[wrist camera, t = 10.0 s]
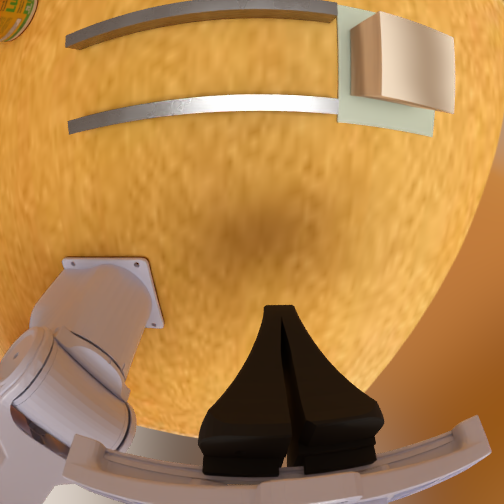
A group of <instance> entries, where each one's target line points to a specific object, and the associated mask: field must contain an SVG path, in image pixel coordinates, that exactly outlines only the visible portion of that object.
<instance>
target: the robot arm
mask: <svg viewBox="0 0 504 504" xmlns="http://www.w3.org/2000/svg"><path fill="white" fill-rule="evenodd" d="M73 262H74V263H75V264H74V263H73ZM135 262H137V263H139V265H137V264H136V263H135ZM62 264H63V267H64V270H63V271H62V272H61V273H60V274H59V276H58V277H57V278H56V279H55V280H54V282H53V283H52V284H51V285H50V287H49V288H48V289H47V290H46V292H45V293H44V294H43V295H42V297H41V298H40V299H39V300H38V302H37V303H36V305H35V306H34V308H33V311H32V314H31V318H30V325H29V329H28V330H27V331H25V332H24V333H23V334H22V335H21V336H20V337H19V338H18V339H17V340H16V341H15V342H14V343H13V344H12V346H11V347H10V348H9V349H8V351H7V352H6V354H5V355H4V357H3V358H2V360H1V362H0V504H42V503H43V502H44V501H45V499H46V498H47V496H48V495H49V493H50V492H51V491H52V489H53V488H54V486H56V485H63V484H76V485H78V486H80V487H82V488H84V489H86V490H88V491H90V492H93V493H96V494H99V495H102V496H104V497H107V498H110V499H113V500H117V501H120V502H123V503H126V504H388V502H391V501H394V500H397V499H400V498H403V497H406V496H408V495H411V494H414V493H417V492H419V491H421V490H424V489H426V488H429V487H431V486H433V485H436V484H438V483H440V482H442V481H445V480H446V479H449V478H451V477H453V476H455V475H457V474H459V473H461V472H463V471H464V470H466V469H468V468H469V467H471V466H473V465H474V464H476V463H477V462H479V461H480V460H482V459H483V458H485V457H486V456H487V455H489V454H490V453H491V449H490V446H489V443H488V440H487V438H486V435H485V432H484V430H483V427H482V425H481V422H480V420H479V417H478V415H476V416H473V417H471V418H469V419H467V420H464V421H462V422H461V423H459V424H458V425H456V426H455V427H454V428H453V429H452V430H451V431H449V432H446V433H444V434H441V435H439V436H436V437H433V438H430V439H428V440H425V441H422V442H419V443H415V444H412V445H409V446H406V447H402V448H399V449H395V450H392V451H388V452H384V453H380V454H376V453H375V449H374V445H375V444H376V441H375V437H374V436H375V435H376V434H377V432H378V431H379V430H380V429H381V428H382V426H383V424H384V418H383V415H382V412H381V410H380V408H379V405H378V404H377V401H375V400H374V399H372V398H370V397H369V396H368V395H366V394H365V393H363V392H362V391H361V390H359V389H358V388H357V387H355V386H354V385H353V384H352V383H351V382H350V381H348V380H347V379H346V378H345V377H344V376H343V375H342V374H341V373H340V372H339V371H338V370H337V369H336V368H335V367H334V366H333V365H332V364H331V363H330V362H329V361H328V359H327V358H326V357H325V356H324V355H323V353H322V352H321V351H320V349H319V348H318V347H317V345H316V344H315V343H314V341H313V340H312V338H311V337H310V335H309V334H308V332H307V330H306V329H305V327H304V325H303V324H302V322H301V320H300V318H299V316H298V314H297V312H296V310H295V307H294V306H293V305H266V306H265V307H264V314H263V319H262V323H261V327H260V330H259V333H258V336H257V338H256V341H255V343H254V345H253V348H252V350H251V352H250V354H249V356H248V358H247V360H246V362H245V363H244V365H243V367H242V369H241V370H240V372H239V373H238V375H237V376H236V378H235V379H234V381H233V382H232V383H231V385H230V386H229V387H228V389H227V390H226V391H225V392H224V394H223V395H222V396H221V397H220V398H219V399H218V400H217V402H216V403H215V404H214V405H213V406H212V407H211V408H210V409H209V410H208V412H207V414H206V416H205V418H204V420H203V422H202V425H201V428H200V432H199V439H198V446H199V447H200V449H201V451H202V453H203V455H204V457H203V466H199V465H189V464H181V463H173V462H168V461H162V460H156V459H150V458H145V457H141V456H136V455H131V454H127V453H126V451H127V450H128V449H129V447H130V445H131V443H132V441H133V438H134V436H135V432H136V415H135V412H134V409H133V408H132V406H131V405H130V404H129V403H128V402H127V400H128V397H129V394H130V389H129V388H128V387H127V386H126V385H125V380H126V378H127V375H128V372H129V369H130V366H131V363H132V361H133V358H134V355H135V352H136V350H137V347H138V344H139V342H140V339H141V336H142V334H143V331H144V329H145V328H159V329H160V328H163V327H164V320H163V317H162V313H161V310H160V306H159V303H158V299H157V295H156V291H155V287H154V283H153V279H152V275H151V271H150V267H149V263H148V261H147V260H146V259H145V258H71V257H66V258H64V259H63V260H62ZM154 323H155V324H154ZM286 454H287V467H284V468H281V466H282V464H283V460H284V457H286ZM227 484H238V485H236V486H228V485H227Z"/></svg>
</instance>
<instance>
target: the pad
mask: <svg viewBox="0 0 504 504" xmlns="http://www.w3.org/2000/svg"><path fill="white" fill-rule="evenodd" d="M337 9H338V16H337V37H338V99H339V114H337V122H341V123H351V124H360V125H367V126H375V127H381V128H388V129H394V130H400V131H405V132H410V133H416V134H420V135H425V136H430V137H433V126H434V113H435V110H429V109H423V108H416V107H411V106H406V105H402V104H397V103H392V102H387V101H382V100H376V99H371V98H364V97H358V96H351V40H350V29H352V28H353V27H355V26H356V25H358V24H359V23H361V22H362V21H364V20H366V19H367V18H369V17H371V16H372V15H374V14H376V13H374V12H370V11H366V10H362V9H357V8H352V7H347V6H342V5H337Z"/></svg>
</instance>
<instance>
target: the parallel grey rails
mask: <svg viewBox="0 0 504 504" xmlns="http://www.w3.org/2000/svg"><path fill="white" fill-rule="evenodd" d="M337 16H338V9H337V3H335V2H329V1H322V0H192V1H185V2H179V3H173V4H167V5H162V6H157V7H153V8H148V9H144V10H140V11H136V12H132V13H129V14H125V15H122V16H118V17H115V18H112V19H109V20H106V21H103V22H100V23H97V24H94V25H91V26H89V27H86V28H83V29H81V30H78V31H76V32H74V33H71V34H69V35H67V36H66V43H65V48H72V49H79V50H80V49H83V48H86V47H89V46H91V45H94V44H97V43H100V42H103V41H107V40H110V39H113V38H117V37H120V36H124V35H128V34H131V33H135V32H140V31H144V30H148V29H153V28H158V27H163V26H169V25H175V24H181V23H188V22H196V21H205V20H216V19H231V18H284V19H299V20H310V21H319V22H327V23H330V22H331V21H332V20H334V19H335V18H336V17H337ZM256 110H264V111H300V112H316V113H329V114H339V99H335V98H325V97H313V96H297V95H222V96H206V97H194V98H184V99H175V100H167V101H160V102H153V103H147V104H141V105H135V106H129V107H124V108H119V109H114V110H110V111H105V112H101V113H97V114H93V115H89V116H85V117H81V118H77V119H74V120H70V121H68V129H69V134H73V133H77V132H81V131H85V130H89V129H94V128H98V127H103V126H108V125H113V124H118V123H123V122H129V121H135V120H141V119H148V118H155V117H163V116H171V115H180V114H191V113H204V112H220V111H256Z"/></svg>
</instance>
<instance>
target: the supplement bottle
mask: <svg viewBox="0 0 504 504" xmlns="http://www.w3.org/2000/svg"><path fill="white" fill-rule="evenodd" d="M36 6H37V0H0V42H6V41H11V40H13V39H15V38H16V37H18V36H19V35H20V34H21V33H22V32H23V31H24V29H25V28H26V27H27V25H28V24H29V22H30V21H31V19H32V17H33V15H34V13H35V10H36Z"/></svg>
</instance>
